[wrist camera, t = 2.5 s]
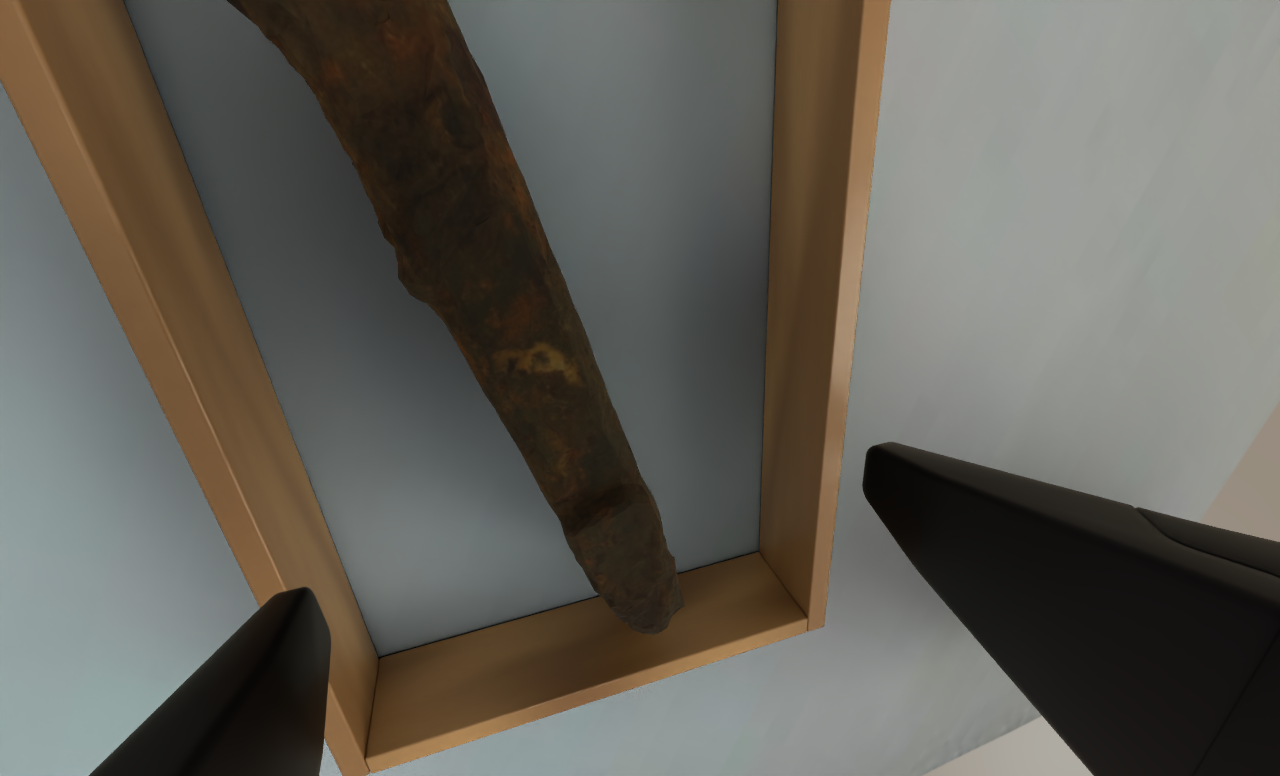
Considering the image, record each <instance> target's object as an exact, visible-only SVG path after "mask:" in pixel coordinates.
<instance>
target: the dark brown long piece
mask: <svg viewBox="0 0 1280 776" xmlns="http://www.w3.org/2000/svg"><path fill="white" fill-rule="evenodd" d="M227 1H228V2H229V3H230V4H232V5H233V6H234V7H235V8H236V9H238V10H239V11H240V12H241V13H242V14H244V15H245V16H246V17H247V18H248V19H250V20H251V21H252V22H253V23H254V24H256V25H257V26H258V27H259V29H260V30H261V31H262V33H263V34H264V35H265V37H266V38H267V39H269V40H270V41H271V42H272V43H273V44H275V45H276V46H277V47H278V48H279V49H280V51H281V52H282V53H283V55H284V56H285V58H286V59H287V61H288V62H289V64H290V65H291V66H292V67H293V68H294V69H295V70H296V71H297V72H298V73H299V74H300V75H301V76H302V77H303V78H304V79H305V81H306V83H307V85H308V86H309V87H310V89H311V90H312V91H313V93H314V94H315V96H316V97H317V100H318V102H319V104H320V106H321V108H322V111H323V113H324V115H325V117H326V119H327V121H328V122H329V124H330V125H331V127H332V128H333V130H334V131H335V133H336V135H337V137H338V139H339V141H340V143H341V145H342V147H343V149H344V150H345V151H346V153H347V154H348V155H349V157H350V158H351V160H352V164H353V166H354V167H355V169H356V170H357V172H358V174H359V177H360V179H361V182H362V184H363V187H364V189H365V192H366V194H367V196H368V197H369V199H370V201H371V203H372V204H373V206H374V209H375V212H376V215H377V218H378V223H379V226H380V228H381V231H382V233H383V235H384V238H385V239H386V240H387V241H388V242H389V243H390V244H391V245H392V246H393V247H394V249H395V253H396V257H397V261H398V277H399V279H400V281H401V282H402V284H403V285H404V286H405V288H406V289H407V291H408V292H409V293H410V295H412V296H414V297H415V298H417V299H419V300H420V301H422V302H425V303H427V304H428V305H429V306H430V307H431V308H432V309H433V310H434V311H435V312H436V314H437V315H438V316H439V317H440V318H441V319H442V320H443V322H444V323H445V324H446V326H447V327H448V329H449V331H450V333H451V334H452V336H453V338H454V340H455V341H456V343H457V345H458V346H459V348H460V350H461V351H462V353H463V355H464V357H465V358H466V360H467V362H468V364H469V366H470V368H471V370H472V372H473V374H474V375H475V377H476V379H477V381H478V383H479V384H480V386H481V388H482V390H483V392H484V394H485V395H486V397H487V398H488V399H489V401H490V402H491V404H492V405H493V407H494V408H495V410H496V412H497V414H498V415H499V417H500V419H501V421H502V422H503V424H504V425H505V427H506V429H507V430H508V432H509V434H510V435H511V437H512V438H513V440H514V442H515V443H516V445H517V447H518V448H519V450H520V451H521V453H522V455H523V457H524V459H525V461H526V463H527V464H528V466H529V468H530V470H531V472H532V474H533V476H534V478H535V480H536V481H537V483H538V485H539V487H540V489H541V491H542V493H543V495H544V497H545V498H546V500H547V502H548V503H549V505H550V506H551V508H552V509H553V510H554V512H555V513H556V515H557V516H558V518H559V520H560V522H561V525H562V528H563V531H564V535H565V538H566V540H567V542H568V545H569V547H570V549H571V550H572V552H573V553H574V555H575V558H576V560H577V562H578V563H579V564H580V566H581V567H582V568H583V570H584V572H585V574H586V576H587V578H588V580H589V581H590V583H591V585H592V587H593V589H594V591H595V592H597V593H598V594H599V595H600V596H601V597H602V598H603V599H605V601H606V603H607V605H608V606H609V608H610V609H611V610H612V612H613V613H614V614H615V615H616V617H618V618H619V619H620V620H621V621H622V622H623V623H627V624H628V625H629V627H630V628H631V629H632V630H633V631H637V632H640V633H642V634H652V635H655V634H658V633H659V632H662V631H663V630H664V629H666V628H667V627H668V625H669V622H670V619H671V617H672V616H673V615H674V614H675V613H676V612H677V611H678V610H679V609H680V608H682V607H684V606H685V605H684V600H683V596H682V592H681V587H680V583H679V579H678V576H677V571H676V565H675V559H674V557H673V556H672V555H671V554H670V552H669V551H668V549H667V545H666V539H665V537H664V534H663V528H662V522H661V517H660V513H659V511H658V508H657V505H656V503H655V500H654V498H653V496H652V494H651V492H650V490H649V489H648V487H647V486H646V484H645V482H644V481H643V479H642V477H641V475H640V473H639V470H638V467H637V464H636V461H635V458H634V456H633V453H632V451H631V448H630V446H629V443H628V441H627V439H626V437H625V434H624V432H623V430H622V427H621V425H620V422H619V419H618V417H617V414H616V411H615V410H614V408H613V406H612V404H611V401H610V399H609V396H608V393H607V390H606V386H605V383H604V380H603V378H602V376H601V373H600V371H599V368H598V366H597V364H596V361H595V359H594V355H593V352H592V349H591V346H590V343H589V340H588V338H587V335H586V333H585V330H584V327H583V325H582V322H581V320H580V318H579V316H578V313H577V311H576V309H575V307H574V305H573V303H572V300H571V297H570V294H569V291H568V288H567V285H566V282H565V280H564V277H563V275H562V273H561V270H560V268H559V266H558V264H557V261H556V259H555V257H554V255H553V253H552V250H551V248H550V246H549V243H548V241H547V238H546V235H545V233H544V230H543V227H542V225H541V222H540V220H539V217H538V214H537V212H536V209H535V207H534V204H533V201H532V199H531V196H530V193H529V191H528V188H527V185H526V183H525V180H524V177H523V175H522V173H521V171H520V169H519V167H518V165H517V162H516V160H515V158H514V156H513V153H512V151H511V148H510V146H509V144H508V141H507V138H506V135H505V132H504V130H503V127H502V125H501V122H500V120H499V117H498V115H497V112H496V109H495V107H494V104H493V102H492V99H491V96H490V94H489V91H488V88H487V85H486V82H485V80H484V77H483V75H482V73H481V71H480V69H479V68H478V66H477V64H476V62H475V61H474V59H473V57H472V55H471V53H470V52H469V50H468V47H467V45H466V43H465V40H464V38H463V35H462V33H461V31H460V28H459V26H458V24H457V22H456V20H455V18H454V15H453V13H452V11H451V9H450V6H449V4H448V1H447V0H227Z"/></svg>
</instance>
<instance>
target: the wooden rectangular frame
mask: <svg viewBox="0 0 1280 776" xmlns="http://www.w3.org/2000/svg"><path fill="white" fill-rule="evenodd" d="M890 4H891V0H778V20H777V49H776V79H775V108H774V137H773V167H772V196H771V225H770V255H769V284H768V313H767V343H766V372H765V401H764V431H763V460H762V489H761V519H760V548H759V552H756V553H753V554H749V555H745V556H742V557H738V558H735V559H731V560H728V561H724V562H721V563H717V564H713V565H710V566H706V567H703V568H699V569H696V570H692V571H688V572H685V573H681V574H678V575H677V576H678V579H679V583H680V587H681V592H682V596H683V600H684V605H685V606H684V607H682V608H680V609H679V610H678V611H677V612H676V613H675V614H674V615H673V616H672V617H671V619H670V622H669V625H668V627H667V628H666V629H664V630H663V631H662V632H659V633H658V634H655V635H652V634H642V633H640V632H637V631H633V630H632V629H631V628H630V627H629V625H628V624H627V623H623V622H622V621H621V620H620V619H619V618H618V617H616V615H615V614H614V613H613V612H612V610H611V609H610V608H609V606H608V605H607V603H606V601H605V599H603V598H602V597H601V596H599V597H596V598H592V599H589V600H585V601H582V602H578V603H574V604H571V605H567V606H564V607H560V608H557V609H553V610H549V611H546V612H542V613H539V614H535V615H532V616H528V617H525V618H521V619H517V620H514V621H510V622H507V623H503V624H500V625H496V626H492V627H489V628H485V629H482V630H478V631H475V632H471V633H467V634H464V635H460V636H457V637H453V638H450V639H446V640H443V641H439V642H435V643H432V644H428V645H425V646H421V647H418V648H414V649H410V650H407V651H403V652H400V653H396V654H393V655H389V656H386V657H382V658H380V659H378V657H377V654H376V651H375V649H374V646H373V644H372V641H371V639H370V636H369V633H368V631H367V628H366V626H365V623H364V620H363V618H362V615H361V613H360V610H359V608H358V605H357V602H356V600H355V597H354V595H353V592H352V590H351V587H350V584H349V582H348V579H347V577H346V574H345V571H344V569H343V566H342V564H341V561H340V559H339V556H338V553H337V551H336V548H335V546H334V543H333V541H332V538H331V535H330V533H329V530H328V528H327V525H326V522H325V520H324V517H323V515H322V512H321V510H320V507H319V504H318V502H317V499H316V497H315V494H314V492H313V489H312V486H311V484H310V481H309V479H308V476H307V473H306V471H305V468H304V466H303V463H302V461H301V458H300V455H299V453H298V450H297V448H296V445H295V443H294V440H293V437H292V435H291V432H290V430H289V427H288V425H287V422H286V419H285V417H284V414H283V412H282V409H281V406H280V404H279V401H278V399H277V396H276V394H275V391H274V388H273V386H272V383H271V381H270V378H269V376H268V373H267V370H266V368H265V365H264V363H263V360H262V357H261V355H260V352H259V350H258V347H257V345H256V342H255V339H254V337H253V334H252V332H251V329H250V327H249V324H248V321H247V319H246V316H245V314H244V311H243V308H242V306H241V303H240V301H239V298H238V296H237V293H236V290H235V288H234V285H233V283H232V280H231V278H230V275H229V272H228V270H227V267H226V265H225V262H224V259H223V257H222V254H221V252H220V249H219V247H218V244H217V241H216V239H215V236H214V234H213V231H212V229H211V226H210V223H209V221H208V218H207V216H206V213H205V211H204V208H203V205H202V203H201V200H200V198H199V195H198V192H197V190H196V187H195V185H194V182H193V180H192V177H191V174H190V172H189V169H188V167H187V164H186V162H185V159H184V156H183V154H182V151H181V149H180V146H179V143H178V141H177V138H176V136H175V133H174V131H173V128H172V125H171V123H170V120H169V118H168V115H167V113H166V110H165V107H164V105H163V102H162V100H161V97H160V94H159V92H158V89H157V87H156V84H155V82H154V79H153V76H152V74H151V71H150V69H149V66H148V64H147V61H146V58H145V56H144V53H143V51H142V48H141V45H140V43H139V40H138V38H137V35H136V33H135V30H134V27H133V25H132V22H131V20H130V17H129V15H128V12H127V9H126V7H125V4H124V2H123V0H0V81H1V83H2V85H3V87H4V89H5V91H6V93H7V95H8V97H9V99H10V101H11V103H12V105H13V107H14V109H15V111H16V113H17V115H18V117H19V119H20V121H21V123H22V125H23V127H24V129H25V131H26V133H27V136H28V138H29V140H30V142H31V144H32V146H33V148H34V150H35V152H36V154H37V156H38V158H39V160H40V162H41V164H42V166H43V168H44V170H45V172H46V174H47V176H48V178H49V180H50V182H51V184H52V186H53V188H54V190H55V192H56V194H57V196H58V198H59V201H60V203H61V205H62V207H63V209H64V211H65V213H66V215H67V217H68V219H69V221H70V223H71V225H72V227H73V229H74V231H75V233H76V235H77V237H78V239H79V241H80V243H81V245H82V247H83V249H84V251H85V253H86V255H87V257H88V259H89V261H90V264H91V266H92V268H93V270H94V272H95V274H96V276H97V278H98V280H99V282H100V284H101V286H102V288H103V290H104V292H105V294H106V296H107V298H108V300H109V302H110V304H111V306H112V308H113V310H114V312H115V314H116V316H117V318H118V320H119V322H120V324H121V326H122V329H123V331H124V333H125V335H126V337H127V339H128V341H129V343H130V345H131V347H132V349H133V351H134V353H135V355H136V357H137V359H138V361H139V363H140V365H141V367H142V369H143V371H144V373H145V375H146V377H147V379H148V381H149V383H150V385H151V387H152V389H153V392H154V394H155V396H156V398H157V400H158V402H159V404H160V406H161V408H162V410H163V412H164V414H165V416H166V418H167V420H168V422H169V424H170V426H171V428H172V430H173V432H174V434H175V436H176V438H177V440H178V442H179V444H180V446H181V448H182V450H183V452H184V454H185V457H186V459H187V461H188V463H189V465H190V467H191V469H192V471H193V473H194V475H195V477H196V479H197V481H198V483H199V485H200V487H201V489H202V491H203V493H204V495H205V497H206V499H207V501H208V503H209V505H210V507H211V509H212V511H213V513H214V515H215V517H216V520H217V522H218V524H219V526H220V528H221V530H222V532H223V534H224V536H225V538H226V540H227V542H228V544H229V546H230V548H231V550H232V552H233V554H234V556H235V558H236V560H237V562H238V564H239V566H240V568H241V570H242V572H243V574H244V576H245V578H246V580H247V582H248V585H249V587H250V589H251V591H252V593H253V595H254V597H255V599H256V601H257V603H258V605H259V607H260V608H261V607H262V606H263V605H264V604H265V603H266V602H267V601H268V600H269V599H270V598H271V597H272V596H274V595H275V594H277V593H280V592H284V591H288V590H292V589H296V588H300V587H308V588H310V589H311V590H312V591H313V592H314V594H315V596H316V598H317V601H318V603H319V605H320V608H321V610H322V612H323V615H324V617H325V619H326V622H327V624H328V626H329V629H330V633H331V656H330V669H329V682H328V695H327V707H326V720H325V733H324V739H325V741H326V743H327V745H328V747H329V749H330V751H331V753H332V755H333V757H334V759H335V761H336V763H337V765H338V767H339V769H340V771H341V773H342V775H343V776H365V775H368V774H369V773H370V772H371V773H375V772H378V771H382V770H385V769H388V768H391V767H394V766H397V765H400V764H403V763H406V762H409V761H412V760H415V759H418V758H421V757H424V756H428V755H431V754H434V753H437V752H440V751H443V750H446V749H449V748H452V747H455V746H458V745H461V744H464V743H467V742H470V741H474V740H477V739H480V738H483V737H486V736H489V735H492V734H495V733H498V732H501V731H504V730H507V729H510V728H513V727H516V726H520V725H523V724H526V723H529V722H532V721H535V720H538V719H541V718H544V717H547V716H550V715H553V714H556V713H559V712H562V711H566V710H569V709H572V708H575V707H578V706H581V705H584V704H587V703H590V702H593V701H596V700H599V699H602V698H605V697H608V696H612V695H615V694H618V693H621V692H624V691H627V690H630V689H633V688H636V687H639V686H642V685H645V684H648V683H651V682H654V681H657V680H661V679H664V678H667V677H670V676H673V675H676V674H679V673H682V672H685V671H688V670H691V669H694V668H697V667H700V666H703V665H707V664H710V663H713V662H716V661H719V660H722V659H725V658H728V657H731V656H734V655H737V654H740V653H743V652H746V651H749V650H753V649H756V648H759V647H762V646H765V645H768V644H771V643H774V642H777V641H780V640H783V639H786V638H789V637H792V636H795V635H799V634H802V633H805V632H806V631H812V630H815V629H818V628H821V627H823V626H824V622H825V613H826V604H827V594H828V585H829V575H830V566H831V557H832V547H833V538H834V529H835V519H836V510H837V500H838V491H839V482H840V472H841V463H842V454H843V444H844V435H845V425H846V416H847V407H848V397H849V388H850V379H851V369H852V360H853V350H854V341H855V332H856V322H857V313H858V304H859V294H860V285H861V275H862V266H863V257H864V247H865V238H866V229H867V219H868V210H869V200H870V191H871V182H872V172H873V163H874V154H875V144H876V135H877V125H878V116H879V107H880V97H881V88H882V79H883V69H884V60H885V50H886V41H887V32H888V22H889V13H890Z"/></svg>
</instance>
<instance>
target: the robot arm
mask: <svg viewBox="0 0 1280 776" xmlns="http://www.w3.org/2000/svg"><path fill="white" fill-rule="evenodd" d="M862 487H863V492H864V495H865V497H866V499H867V501H868V502H869V504H870V505H871V506H872V508H873V509H874V511H875V512H876V513H877V515H878V516H879V518H880V519H881V520H882V522H883V523H884V525H885V526H886V528H887V529H888V530H889V532H890V533H891V535H892V536H893V537H894V539H895V540H896V542H897V543H898V544H899V546H900V547H901V549H902V550H903V552H904V553H905V554H906V556H907V557H908V559H909V560H910V561H911V563H912V564H913V565H914V567H915V568H916V569H917V570H918V572H919V573H920V574H921V575H922V576H923V578H924V579H925V580H926V581H927V582H928V584H929V585H930V586H931V587H932V588H933V589H934V591H935V592H936V593H937V594H938V595H939V596H940V598H941V599H942V600H943V601H944V602H945V603H946V605H947V606H948V607H949V608H950V609H951V610H952V611H953V613H954V614H955V615H956V616H957V617H958V618H959V620H960V621H961V622H962V623H963V624H964V625H965V627H966V628H967V629H968V630H969V631H970V632H971V634H972V635H973V636H974V637H975V638H976V639H977V641H978V642H979V643H980V644H981V645H982V646H983V648H984V649H985V650H986V651H987V652H988V653H989V654H990V656H991V657H992V658H993V659H994V660H995V661H996V663H997V664H998V665H999V666H1000V667H1001V668H1002V670H1003V671H1004V672H1005V673H1006V674H1007V675H1008V677H1009V678H1010V679H1011V680H1012V681H1013V682H1014V684H1015V685H1016V686H1017V687H1018V688H1019V689H1020V691H1021V692H1022V693H1023V694H1024V695H1025V696H1026V697H1027V699H1028V700H1029V701H1030V702H1031V703H1032V704H1033V706H1034V707H1035V708H1036V709H1037V710H1038V711H1039V713H1040V714H1041V715H1042V716H1043V717H1044V718H1045V720H1046V721H1047V722H1048V723H1049V724H1050V725H1051V727H1052V728H1053V729H1054V730H1055V731H1056V732H1057V733H1058V734H1059V736H1060V737H1061V738H1062V739H1063V740H1064V742H1065V743H1066V744H1067V745H1068V746H1069V747H1070V749H1071V750H1072V751H1073V752H1074V753H1075V754H1076V756H1077V757H1078V758H1079V759H1080V760H1081V761H1082V763H1083V764H1084V765H1085V766H1086V767H1087V768H1088V770H1089V771H1090V772H1091V773H1092V774H1093V775H1094V776H1280V542H1276V541H1272V540H1268V539H1264V538H1259V537H1255V536H1251V535H1246V534H1242V533H1238V532H1234V531H1229V530H1225V529H1221V528H1216V527H1213V526H1209V525H1205V524H1201V523H1197V522H1193V521H1189V520H1185V519H1181V518H1177V517H1173V516H1169V515H1166V514H1162V513H1158V512H1154V511H1151V510H1147V509H1143V508H1139V507H1137V508H1134V507H1133V506H1131V505H1128V504H1124V503H1120V502H1116V501H1113V500H1109V499H1105V498H1101V497H1098V496H1094V495H1090V494H1086V493H1083V492H1079V491H1075V490H1071V489H1068V488H1064V487H1060V486H1056V485H1052V484H1049V483H1045V482H1041V481H1037V480H1034V479H1030V478H1026V477H1022V476H1019V475H1015V474H1011V473H1007V472H1004V471H1000V470H996V469H992V468H989V467H985V466H981V465H977V464H974V463H970V462H966V461H962V460H958V459H955V458H951V457H947V456H943V455H940V454H936V453H932V452H928V451H925V450H921V449H917V448H913V447H910V446H906V445H902V444H898V443H894V442H887V443H883V444H879V445H875V446H872V447H870V448H869V449H868V451H867V453H866V459H865V468H864V476H863V484H862ZM330 656H331V633H330V629H329V626H328V624H327V622H326V619H325V617H324V615H323V612H322V610H321V608H320V605H319V603H318V601H317V598H316V596H315V594H314V592H313V591H312V590H311V589H310V588H308V587H300V588H296V589H292V590H288V591H284V592H280V593H277V594H275V595H274V596H272V597H271V598H270V599H269V600H268V601H267V602H266V603H265V604H264V605H263V606H262V607H261V608H260V609H259V610H258V611H257V612H256V613H255V614H254V615H253V616H252V617H251V618H250V619H249V620H248V621H247V622H245V623H244V624H243V625H242V626H241V627H240V628H239V629H238V630H237V631H236V632H235V633H234V634H233V635H232V636H231V637H230V638H229V639H228V640H227V641H226V642H225V643H224V644H223V645H222V646H221V647H220V648H219V649H218V650H217V651H216V652H215V653H214V654H213V655H212V656H211V657H210V658H209V659H208V660H207V661H206V662H205V663H204V664H203V665H202V666H200V667H199V668H198V669H197V670H196V671H195V672H194V673H193V674H192V675H191V676H190V677H189V678H188V679H187V680H186V681H185V682H184V683H183V684H182V685H181V686H180V687H179V688H178V689H177V690H176V691H175V692H174V693H173V694H172V695H171V696H170V697H169V698H168V699H167V700H166V701H165V702H164V703H163V704H162V705H161V706H160V707H159V708H158V709H157V710H155V711H154V712H153V713H152V714H151V715H150V716H149V717H148V718H147V719H146V720H145V721H144V722H143V723H142V724H141V725H140V726H139V727H138V728H137V729H136V730H135V731H134V732H133V733H132V734H131V735H130V736H129V737H128V738H127V739H126V740H125V741H124V742H123V743H122V744H121V745H120V746H119V747H118V748H117V749H116V750H115V751H114V752H113V753H112V754H110V755H109V756H108V757H107V758H106V759H105V760H104V761H103V762H102V763H101V764H100V765H99V766H98V767H97V768H96V769H95V770H94V771H93V772H92V773H91V774H90V775H89V776H319V772H320V766H321V760H322V753H323V744H324V733H325V720H326V707H327V695H328V682H329V669H330Z"/></svg>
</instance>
